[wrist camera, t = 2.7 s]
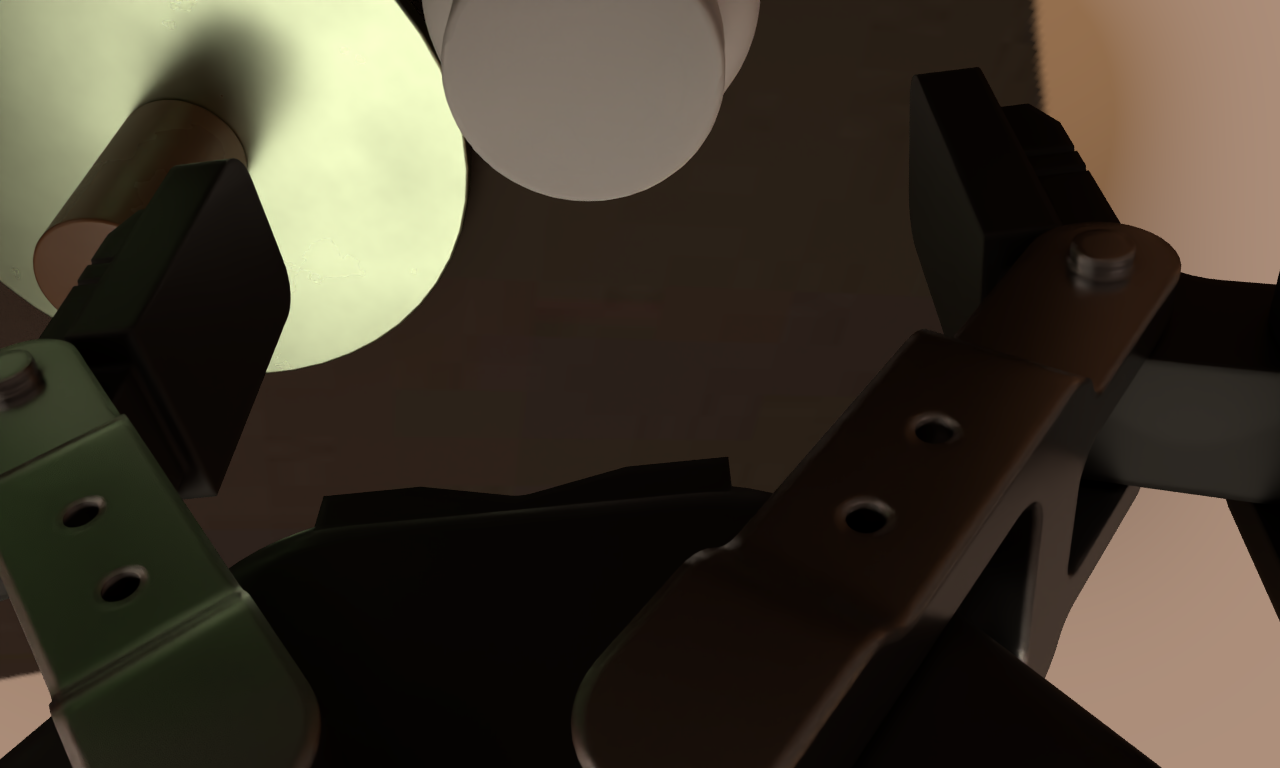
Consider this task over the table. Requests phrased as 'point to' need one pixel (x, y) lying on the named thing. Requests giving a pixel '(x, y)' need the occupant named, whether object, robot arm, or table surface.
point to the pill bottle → (588, 85)
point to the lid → (237, 145)
